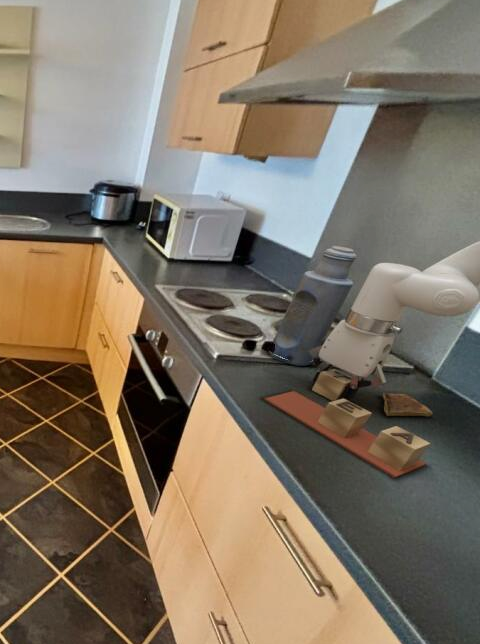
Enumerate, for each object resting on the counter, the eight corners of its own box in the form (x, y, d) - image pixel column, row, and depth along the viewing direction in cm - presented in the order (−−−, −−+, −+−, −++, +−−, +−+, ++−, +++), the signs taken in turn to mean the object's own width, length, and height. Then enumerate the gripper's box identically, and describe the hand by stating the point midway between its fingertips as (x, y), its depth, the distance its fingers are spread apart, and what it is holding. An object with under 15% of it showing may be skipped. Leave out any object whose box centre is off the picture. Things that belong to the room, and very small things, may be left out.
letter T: (348, 398, 94) (359, 379, 92) (334, 402, 93) (345, 382, 90) (324, 386, 99) (334, 368, 96) (311, 390, 97) (321, 371, 94)
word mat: (425, 465, 76) (426, 463, 76) (394, 478, 72) (396, 476, 72) (293, 392, 95) (293, 390, 95) (263, 399, 92) (264, 398, 92)
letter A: (415, 464, 75) (431, 442, 73) (399, 470, 73) (416, 448, 71) (382, 446, 79) (397, 424, 77) (367, 451, 77) (381, 430, 75)
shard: (384, 417, 89) (389, 410, 88) (354, 396, 96) (358, 389, 95) (431, 418, 90) (436, 411, 89) (397, 397, 96) (402, 391, 96)
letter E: (359, 433, 82) (372, 412, 80) (344, 438, 81) (357, 416, 78) (332, 417, 87) (344, 397, 84) (317, 422, 85) (328, 401, 82)
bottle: (259, 349, 114) (307, 242, 101) (288, 348, 116) (338, 242, 103) (289, 367, 106) (346, 253, 92) (320, 365, 108) (379, 253, 94)
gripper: (430, 338, 82) (382, 412, 90) (335, 305, 96) (302, 372, 104) (409, 342, 79) (362, 418, 87) (315, 308, 93) (282, 376, 101)
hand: (330, 392), depth 95 cm, fingers closed on letter T, 5 cm apart
